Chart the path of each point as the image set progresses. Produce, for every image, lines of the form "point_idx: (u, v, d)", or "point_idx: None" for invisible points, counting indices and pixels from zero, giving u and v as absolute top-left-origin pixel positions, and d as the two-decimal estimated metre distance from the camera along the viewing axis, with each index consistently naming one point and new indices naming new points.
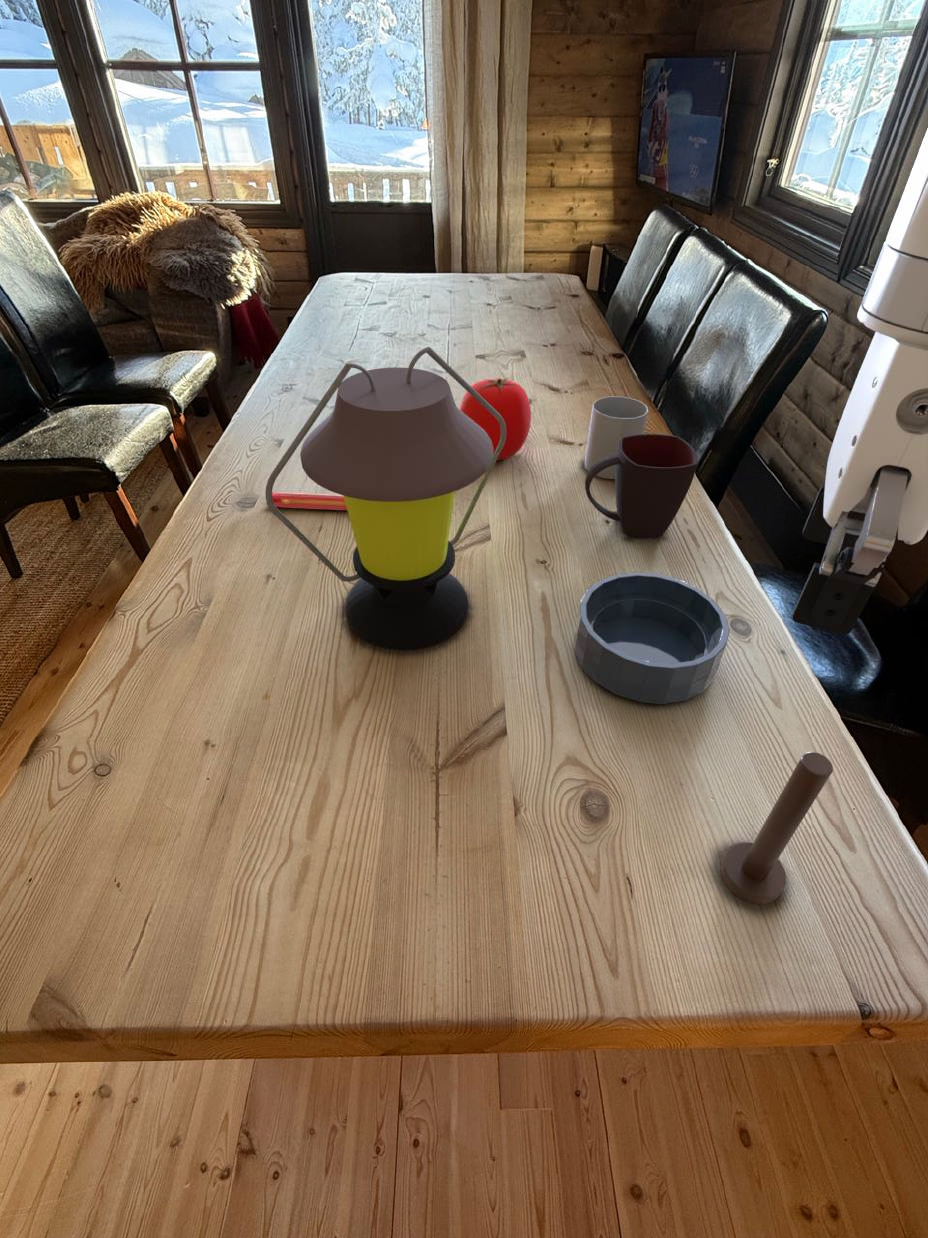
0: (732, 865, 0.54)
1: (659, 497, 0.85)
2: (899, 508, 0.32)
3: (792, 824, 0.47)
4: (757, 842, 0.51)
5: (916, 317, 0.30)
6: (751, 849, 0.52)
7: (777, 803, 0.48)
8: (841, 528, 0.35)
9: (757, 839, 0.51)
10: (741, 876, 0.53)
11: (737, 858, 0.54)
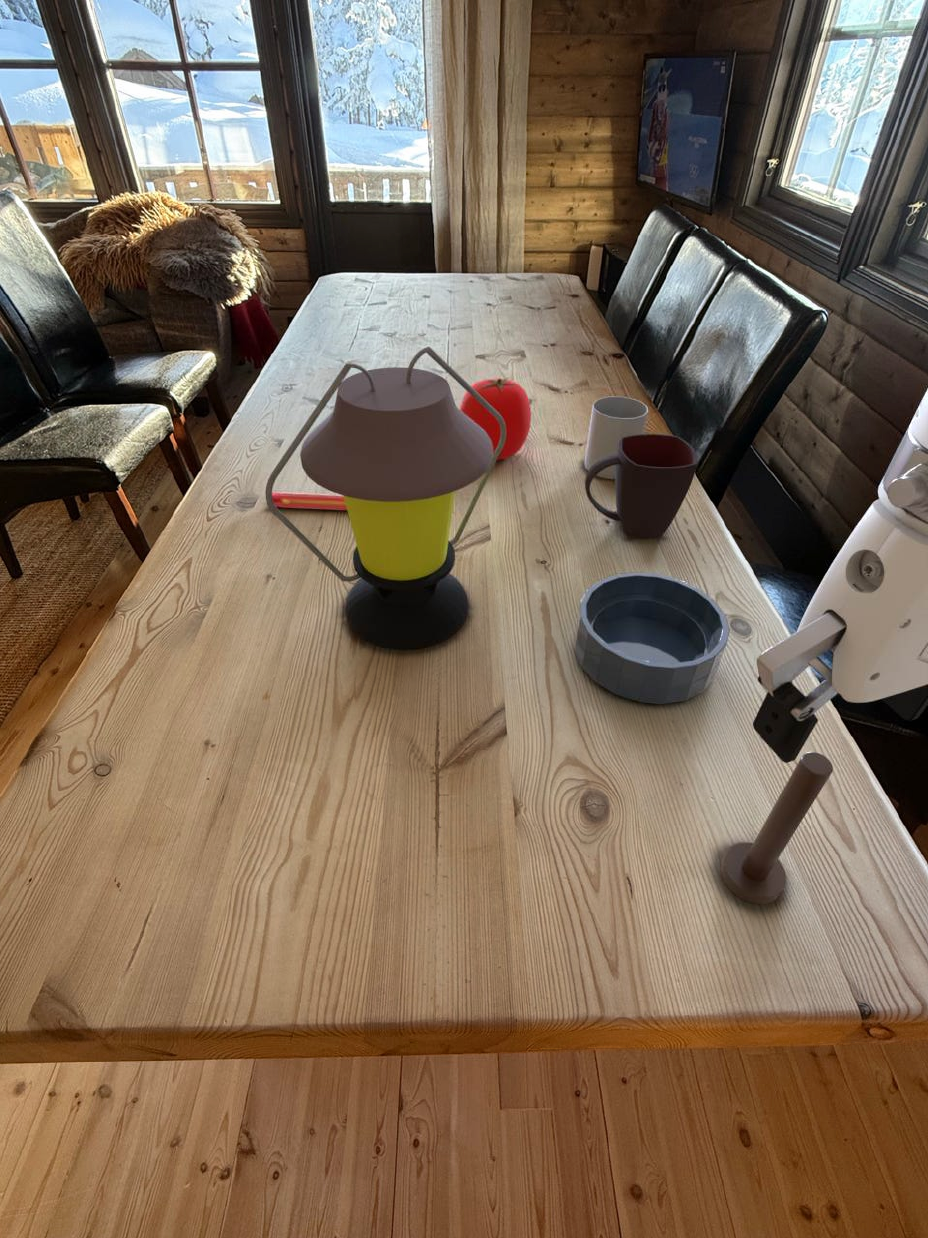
0: (732, 865, 0.54)
1: (659, 497, 0.85)
2: (809, 647, 0.33)
3: (792, 824, 0.47)
4: (757, 842, 0.51)
5: None
6: (751, 849, 0.52)
7: (777, 803, 0.48)
8: None
9: (757, 839, 0.51)
10: (741, 876, 0.53)
11: (737, 858, 0.54)
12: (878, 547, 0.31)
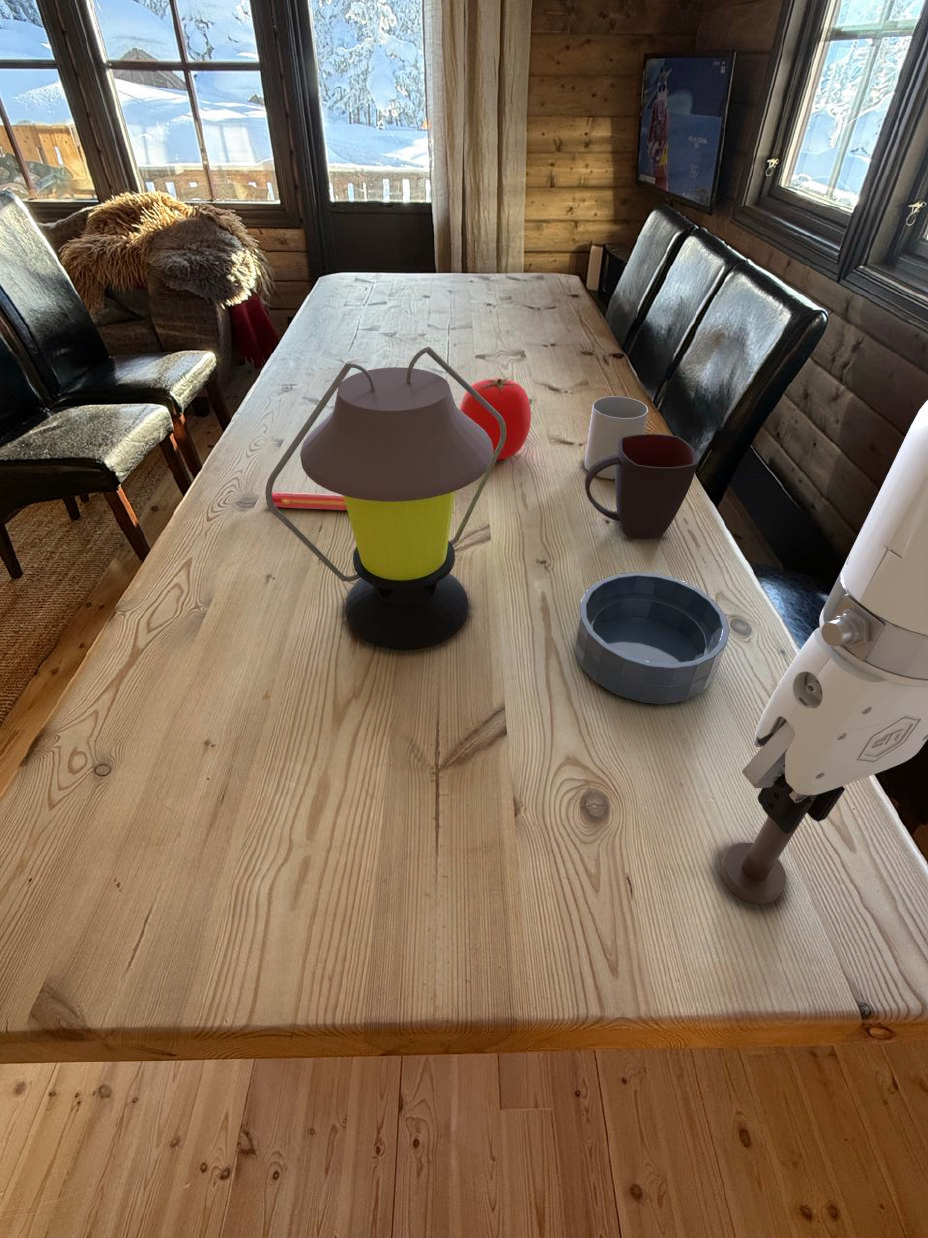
0: (732, 865, 0.54)
1: (659, 497, 0.85)
2: (772, 763, 0.40)
3: None
4: (757, 842, 0.51)
5: (829, 618, 0.36)
6: (751, 849, 0.52)
7: None
8: None
9: (757, 839, 0.51)
10: (741, 876, 0.53)
11: (737, 858, 0.54)
12: (818, 671, 0.36)
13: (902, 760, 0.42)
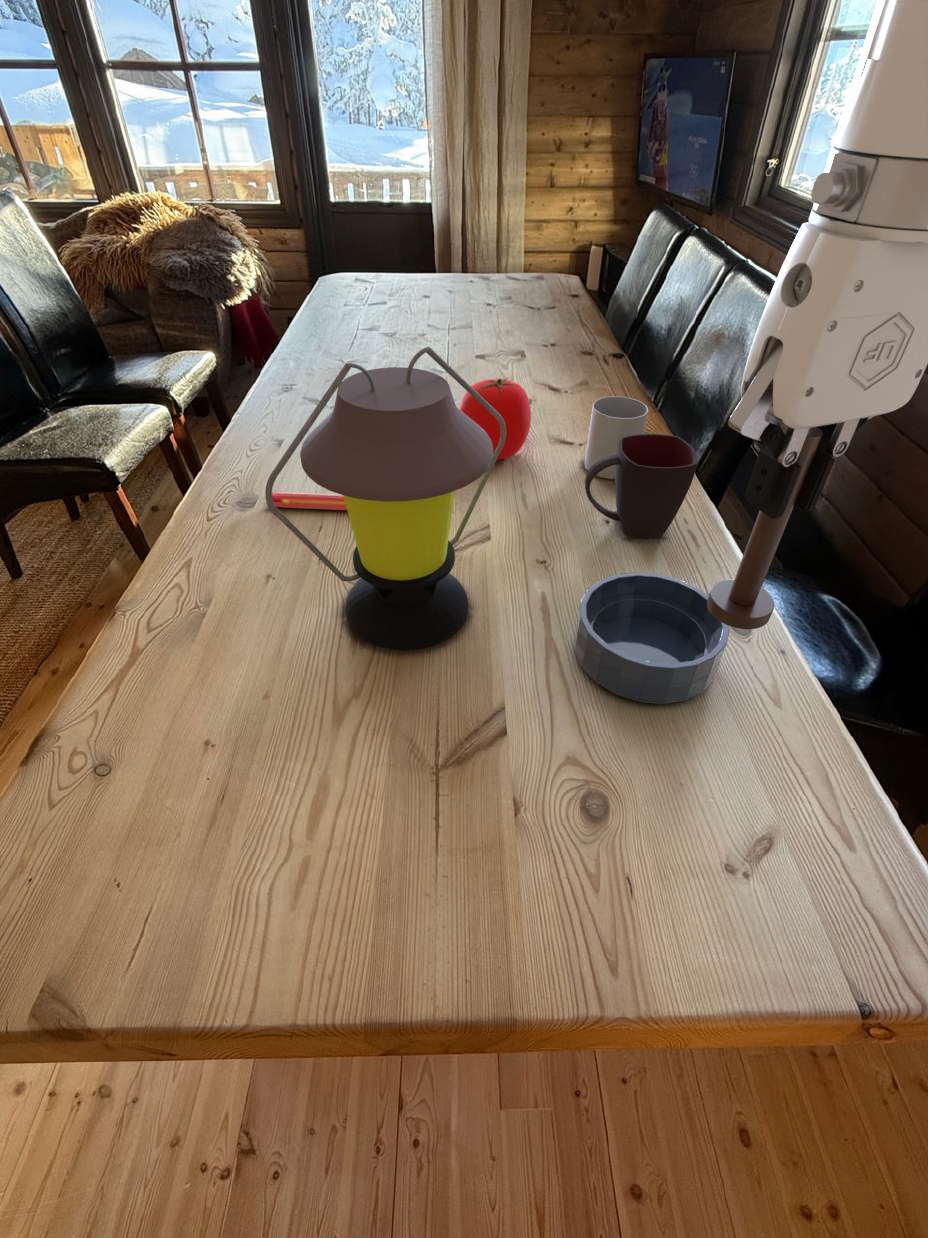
0: (719, 595, 0.52)
1: (659, 497, 0.85)
2: (760, 396, 0.38)
3: (781, 516, 0.45)
4: (744, 556, 0.49)
5: None
6: (738, 569, 0.50)
7: None
8: (767, 414, 0.42)
9: (744, 553, 0.49)
10: (728, 603, 0.51)
11: (724, 590, 0.52)
12: (807, 256, 0.34)
13: (894, 404, 0.40)
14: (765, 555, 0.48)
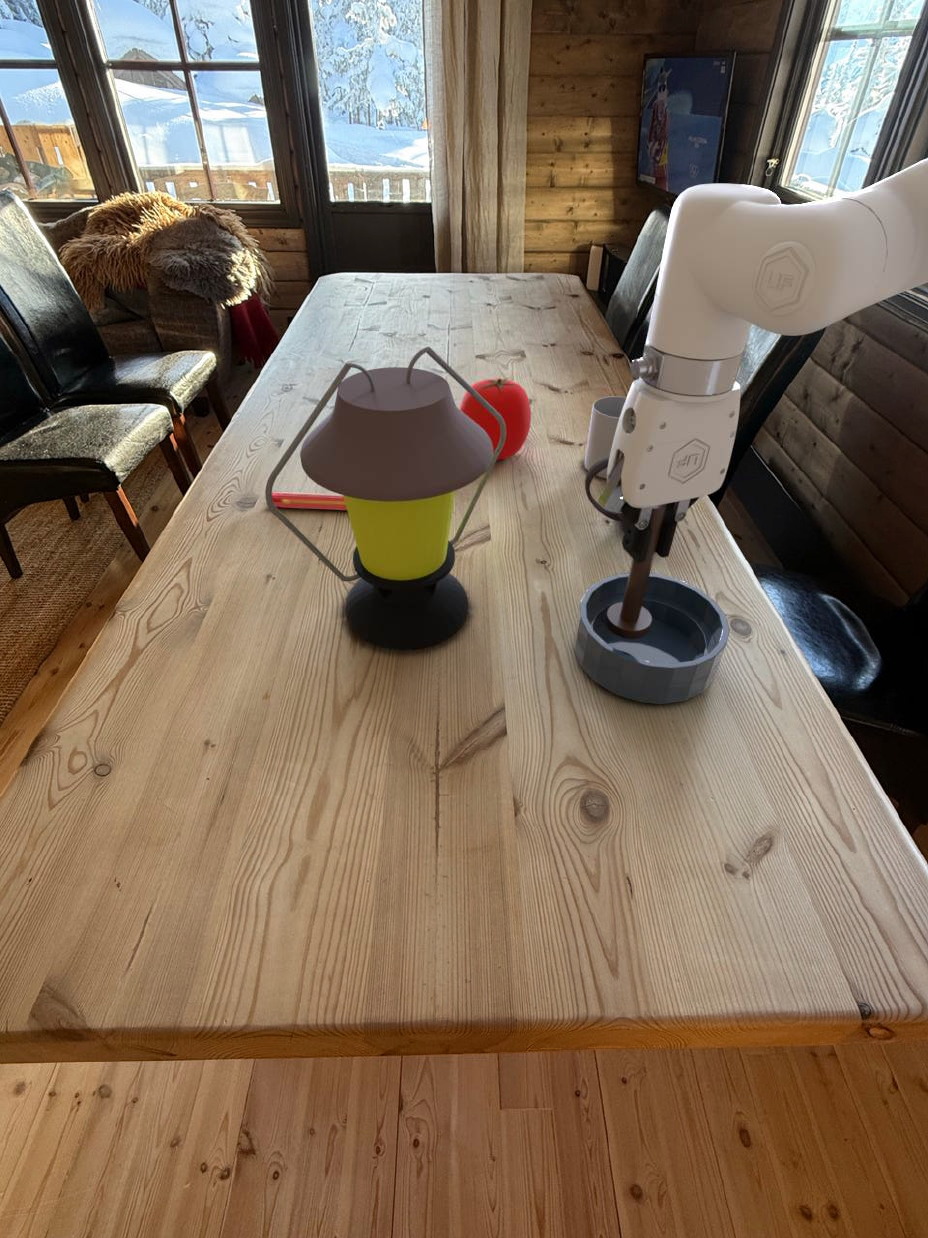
0: (613, 614, 0.71)
1: None
2: (614, 486, 0.58)
3: (645, 560, 0.65)
4: (626, 586, 0.69)
5: None
6: (624, 596, 0.70)
7: None
8: None
9: None
10: (618, 619, 0.71)
11: (617, 610, 0.72)
12: (633, 404, 0.54)
13: (708, 490, 0.59)
14: (639, 586, 0.67)
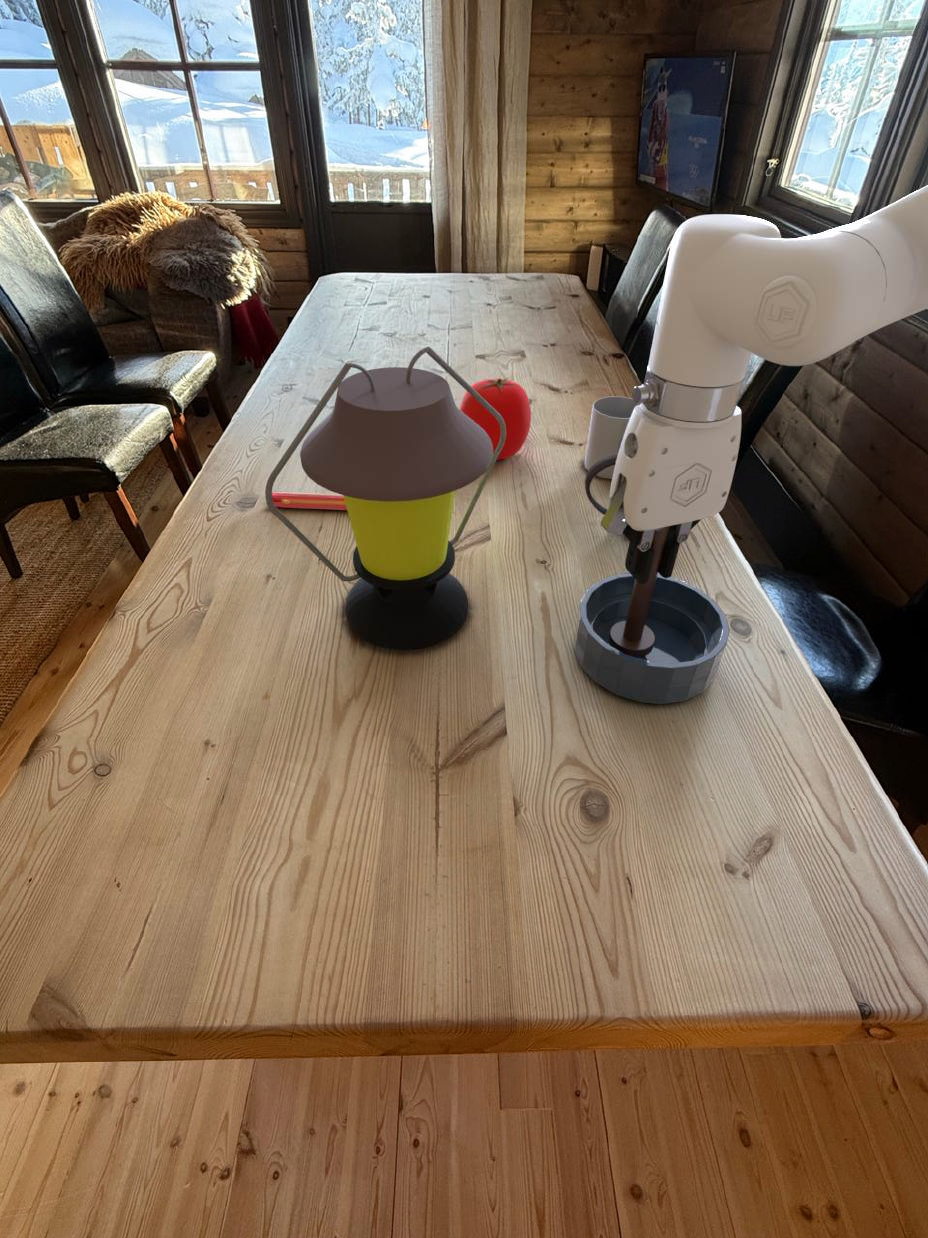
0: (616, 632, 0.72)
1: None
2: (617, 509, 0.58)
3: (648, 581, 0.65)
4: (629, 606, 0.69)
5: None
6: (627, 615, 0.70)
7: None
8: None
9: None
10: (621, 638, 0.71)
11: (620, 629, 0.72)
12: (635, 429, 0.54)
13: (710, 513, 0.60)
14: (642, 606, 0.68)
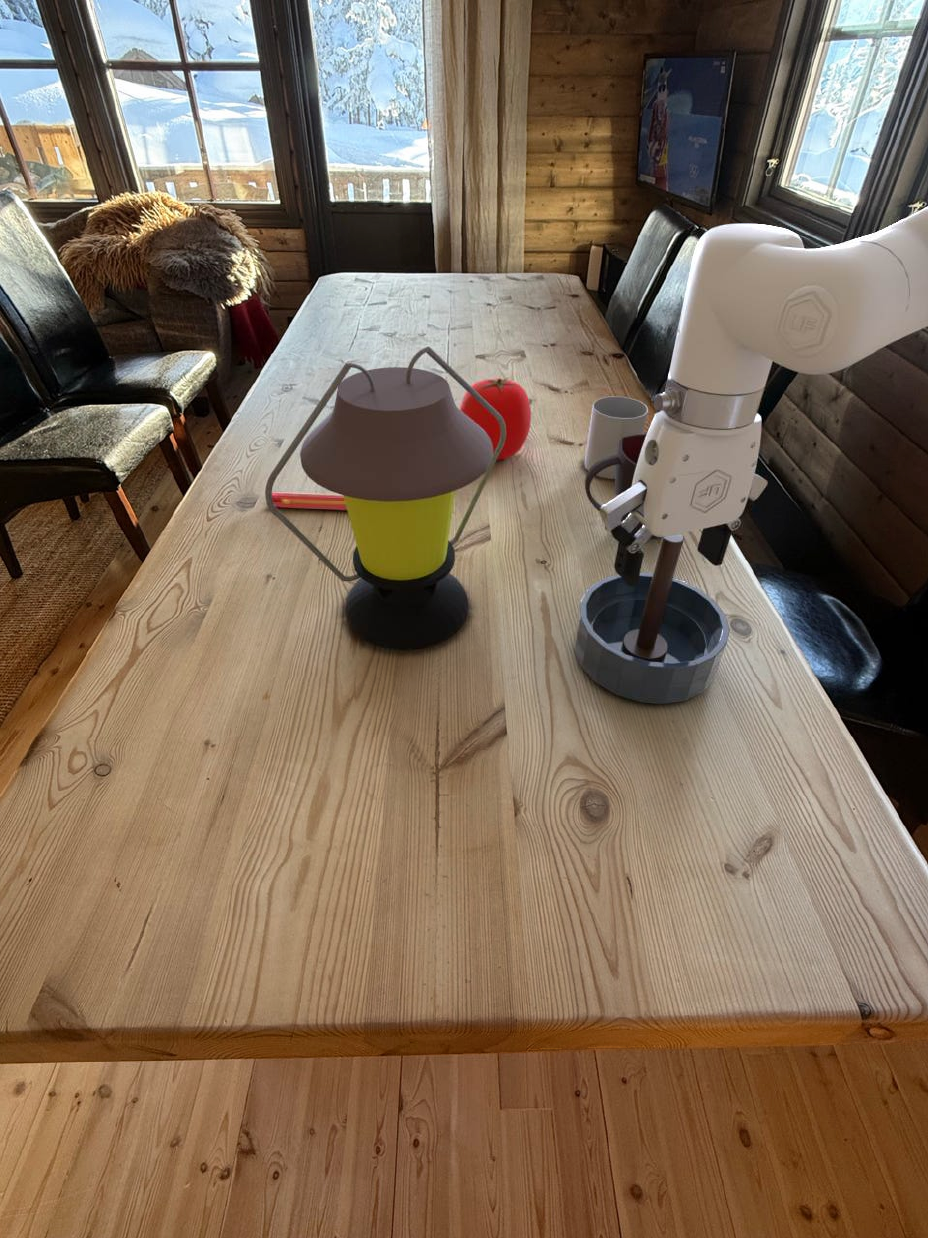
0: (629, 641, 0.73)
1: None
2: (626, 500, 0.57)
3: (662, 591, 0.66)
4: (643, 615, 0.70)
5: None
6: None
7: (652, 577, 0.67)
8: (631, 515, 0.61)
9: (643, 613, 0.70)
10: (634, 647, 0.72)
11: (633, 637, 0.73)
12: (656, 437, 0.55)
13: (729, 518, 0.60)
14: (655, 616, 0.68)
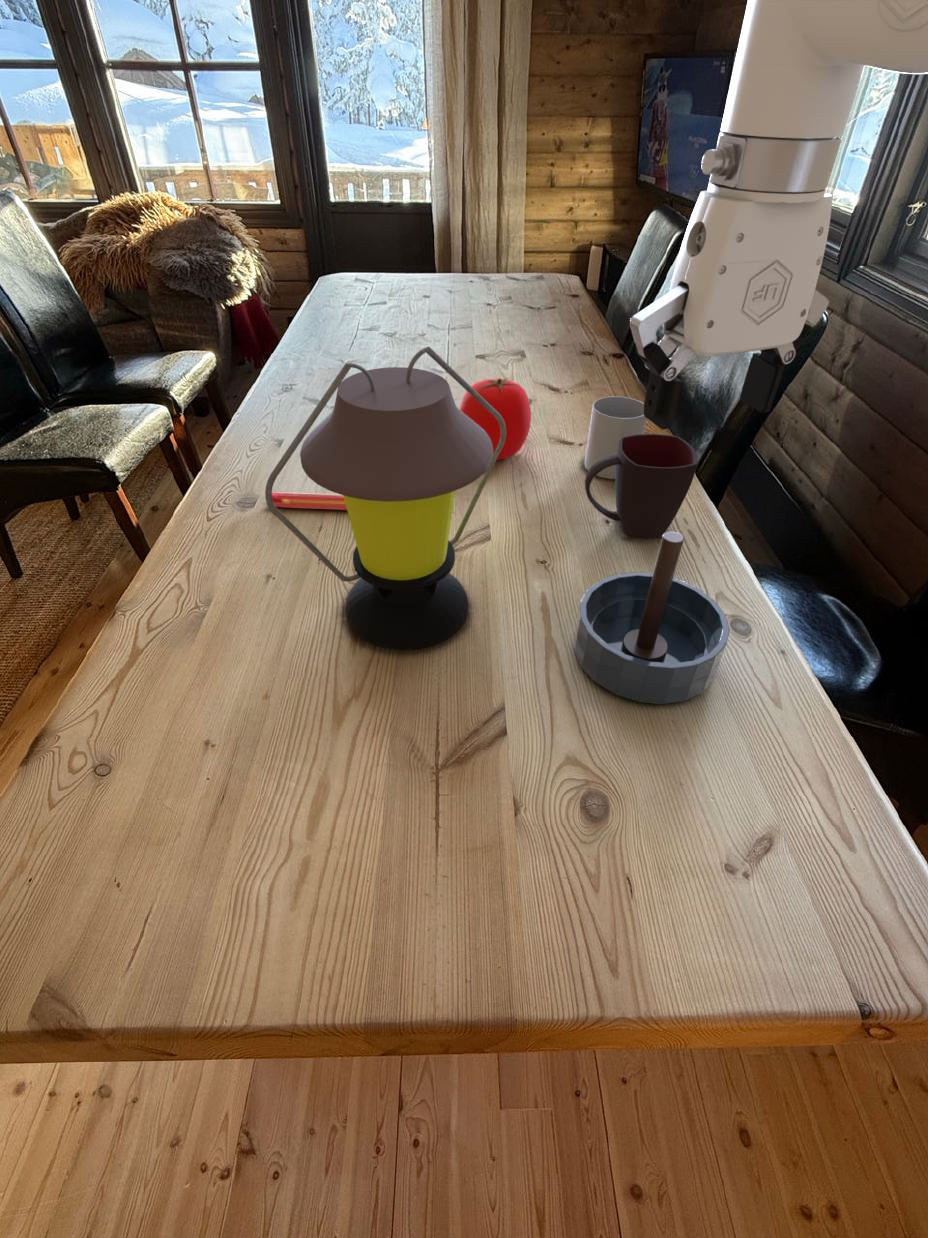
0: (629, 641, 0.73)
1: (659, 497, 0.85)
2: (663, 305, 0.47)
3: (662, 591, 0.66)
4: (643, 615, 0.70)
5: None
6: None
7: (652, 577, 0.67)
8: (667, 336, 0.50)
9: (643, 613, 0.70)
10: (634, 647, 0.72)
11: (633, 637, 0.73)
12: (702, 216, 0.44)
13: (785, 338, 0.50)
14: (655, 616, 0.68)
